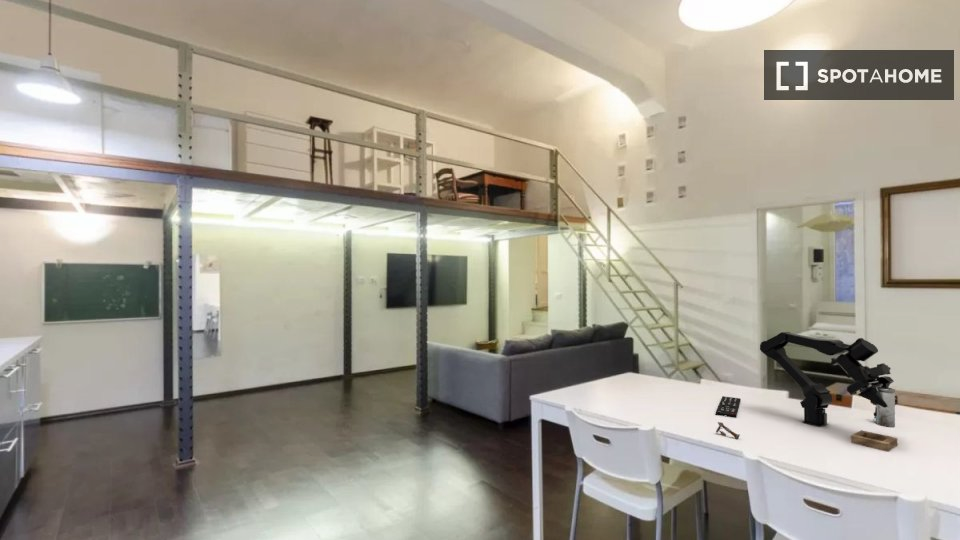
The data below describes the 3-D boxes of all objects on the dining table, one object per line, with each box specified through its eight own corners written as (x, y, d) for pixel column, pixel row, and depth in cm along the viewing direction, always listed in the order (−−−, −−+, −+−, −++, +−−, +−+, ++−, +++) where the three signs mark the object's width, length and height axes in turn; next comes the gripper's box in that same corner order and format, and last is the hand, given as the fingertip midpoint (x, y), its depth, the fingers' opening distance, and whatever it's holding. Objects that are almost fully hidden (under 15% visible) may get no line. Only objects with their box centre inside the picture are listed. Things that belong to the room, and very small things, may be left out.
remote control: (715, 416, 191) (715, 411, 191) (722, 399, 218) (722, 395, 218) (736, 419, 187) (736, 414, 187) (740, 401, 214) (740, 397, 214)
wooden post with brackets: (715, 429, 170) (720, 420, 169) (735, 444, 164) (740, 434, 163) (712, 430, 169) (717, 420, 168) (732, 445, 163) (738, 435, 162)
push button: (887, 426, 176) (886, 400, 176) (869, 423, 180) (868, 398, 180) (888, 422, 181) (887, 397, 181) (870, 419, 184) (870, 395, 185)
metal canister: (873, 423, 160) (873, 387, 160) (883, 422, 161) (883, 386, 161) (888, 428, 155) (888, 390, 155) (898, 427, 156) (898, 389, 156)
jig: (851, 442, 159) (851, 435, 159) (861, 437, 164) (861, 430, 164) (888, 451, 150) (887, 444, 150) (897, 445, 156) (897, 438, 156)
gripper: (856, 357, 158) (895, 396, 148) (886, 354, 166) (926, 391, 155) (831, 375, 166) (867, 413, 155) (862, 371, 173) (898, 407, 162)
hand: (890, 406), depth 157 cm, fingers closed on metal canister, 5 cm apart
